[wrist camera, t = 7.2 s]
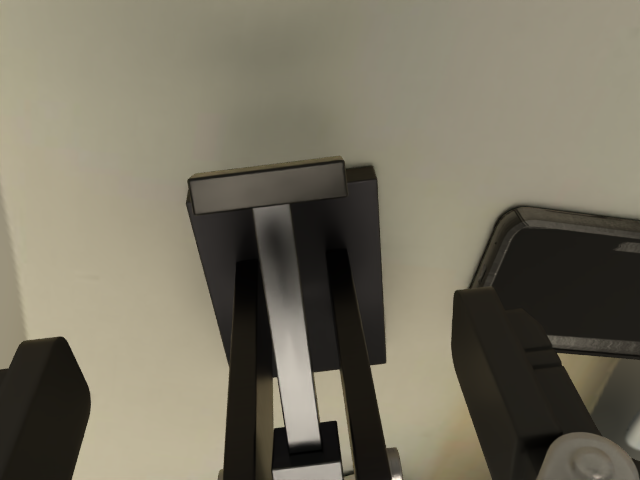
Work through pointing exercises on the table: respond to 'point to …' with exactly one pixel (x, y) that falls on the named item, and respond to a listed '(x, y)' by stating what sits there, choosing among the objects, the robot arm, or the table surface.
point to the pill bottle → (349, 477)
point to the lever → (284, 296)
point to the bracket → (321, 314)
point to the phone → (569, 278)
